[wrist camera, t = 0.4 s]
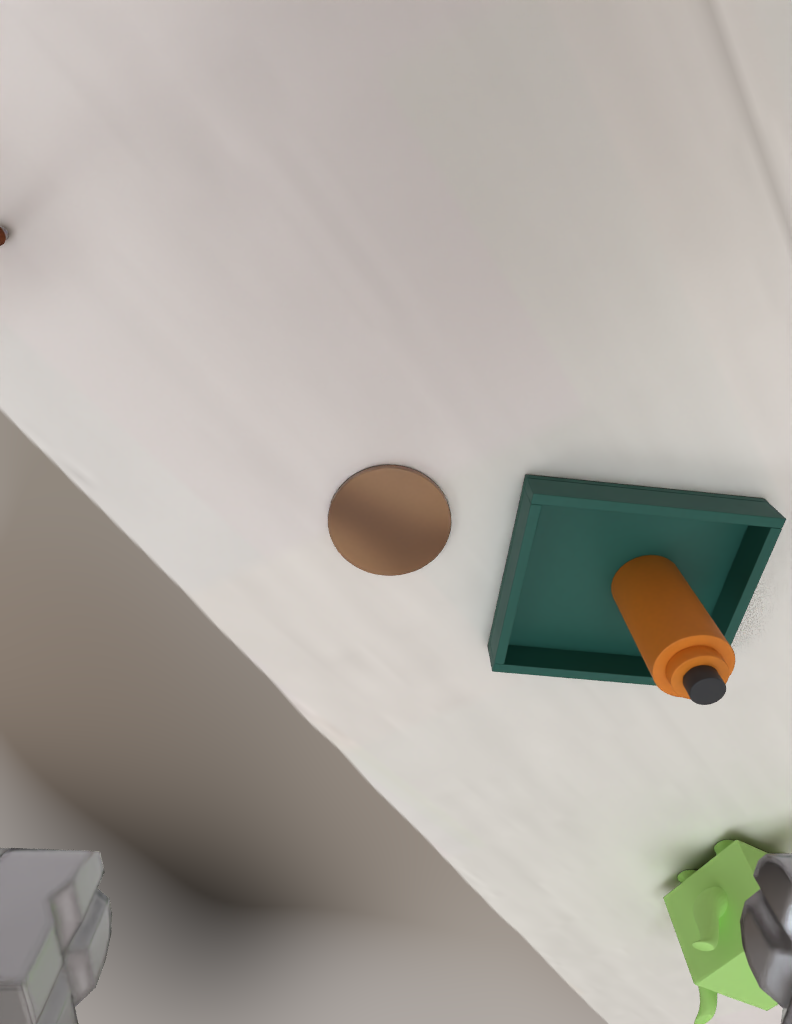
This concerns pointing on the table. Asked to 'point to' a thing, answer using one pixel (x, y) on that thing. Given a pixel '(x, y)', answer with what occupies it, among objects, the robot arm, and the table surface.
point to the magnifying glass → (3, 235)
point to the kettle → (718, 926)
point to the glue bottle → (673, 630)
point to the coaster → (389, 520)
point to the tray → (601, 553)
